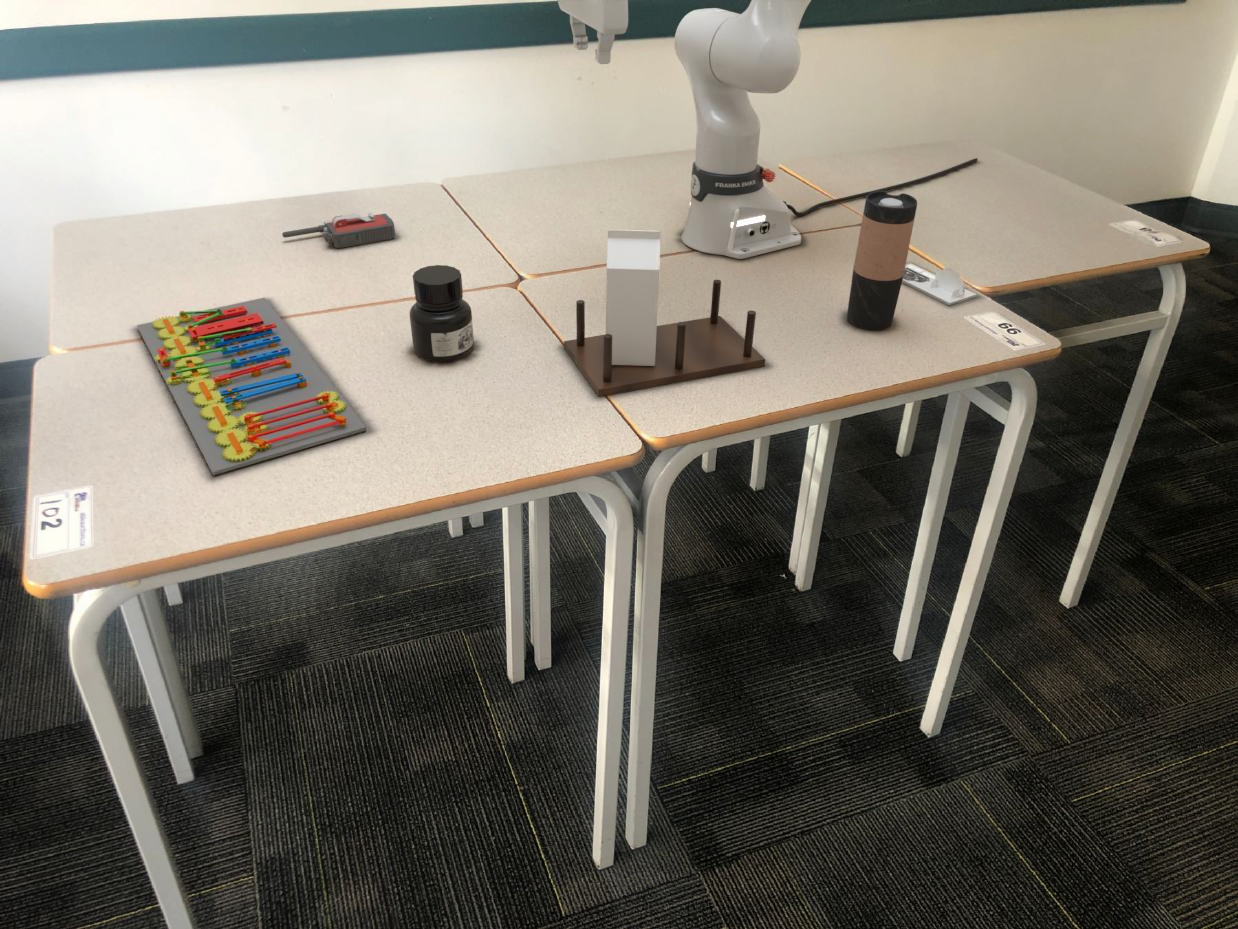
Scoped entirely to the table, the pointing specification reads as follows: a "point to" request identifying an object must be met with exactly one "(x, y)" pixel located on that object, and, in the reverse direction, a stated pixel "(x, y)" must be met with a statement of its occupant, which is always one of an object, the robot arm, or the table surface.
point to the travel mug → (880, 259)
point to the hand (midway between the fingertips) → (591, 55)
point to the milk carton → (632, 295)
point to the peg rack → (667, 352)
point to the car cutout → (937, 284)
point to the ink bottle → (440, 315)
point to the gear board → (246, 384)
